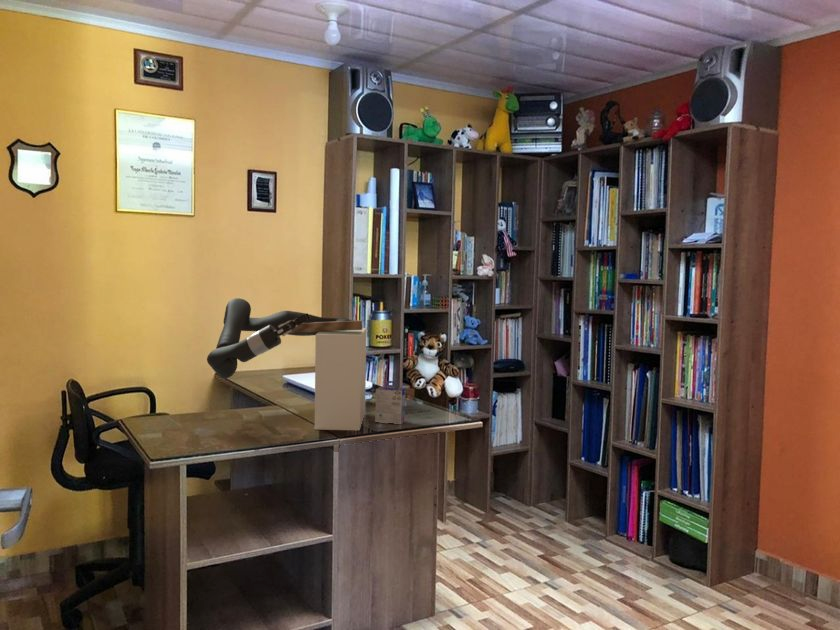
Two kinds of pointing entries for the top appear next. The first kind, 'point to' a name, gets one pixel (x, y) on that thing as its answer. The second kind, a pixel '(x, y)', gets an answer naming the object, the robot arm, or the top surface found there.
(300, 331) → the walnut rod
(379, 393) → the ink cartridge box
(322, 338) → the tall tan cardboard box
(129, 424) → the top surface
